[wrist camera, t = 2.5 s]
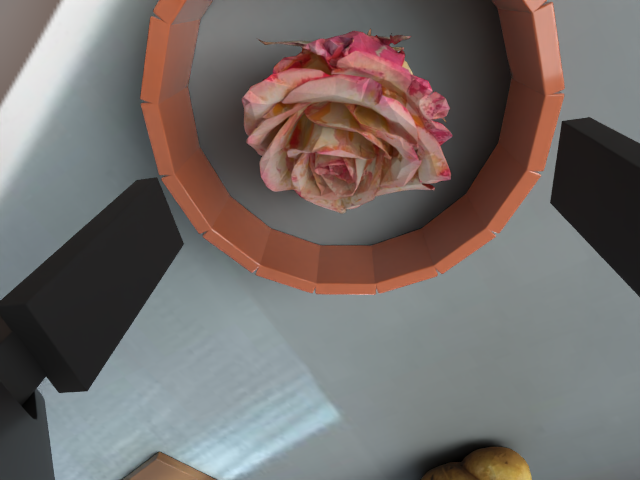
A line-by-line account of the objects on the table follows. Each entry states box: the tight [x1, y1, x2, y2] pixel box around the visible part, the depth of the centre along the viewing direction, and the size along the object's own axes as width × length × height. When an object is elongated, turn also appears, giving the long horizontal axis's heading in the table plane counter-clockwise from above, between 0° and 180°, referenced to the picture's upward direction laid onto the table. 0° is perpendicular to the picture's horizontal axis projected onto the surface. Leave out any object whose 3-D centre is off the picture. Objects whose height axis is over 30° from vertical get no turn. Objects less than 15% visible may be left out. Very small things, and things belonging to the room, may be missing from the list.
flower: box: [242, 29, 452, 214], centre depth 18 cm, size 10×9×8 cm
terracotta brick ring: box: [140, 0, 565, 295], centre depth 20 cm, size 18×18×4 cm
